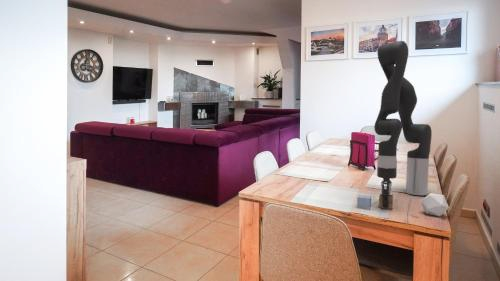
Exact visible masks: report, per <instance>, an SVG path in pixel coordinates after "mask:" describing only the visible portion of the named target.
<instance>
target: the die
mask: <svg viewBox="0 0 500 281" xmlns="http://www.w3.org/2000/svg"><path fill="white" fill-rule="evenodd" d="M420 203H421V206H422V207H423V210H424V212H425V214H427V215H430V216H435V217H441V216H442V215H443V214H444V213H446V212H447V211H448V210H450V207H449V204H448V202H447V200H446V196H445V195H444V194H439V193H431V192H430V193H428V194H427V195H425V197H424V198H422V199H421V200H420Z"/></svg>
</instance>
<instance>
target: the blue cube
mask: <svg viewBox="0 0 500 281" xmlns="http://www.w3.org/2000/svg"><path fill="white" fill-rule="evenodd" d="M356 198H357V200H356V203H357V204H356V208H357V209H360V210H367V211H370V210H371V207H372V196H371V195H364V194H362V195H361V194H358V196H357V197H356Z"/></svg>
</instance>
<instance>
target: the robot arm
mask: <svg viewBox="0 0 500 281" xmlns="http://www.w3.org/2000/svg"><path fill="white" fill-rule="evenodd" d="M377 59H378V62H379V64H380V67H381V69H382V71H383V73H384V76H385V77H386V81H387V83H386V84H385V86H384V88H383V90H382V92H381V97H380V109H379V113H378V114H377V118H376V120H375V122H374V128H373V129H374V131H375V132H374V133H375V134H376V135H378V136H388V137H389V136H390V138H389V139H388V140H382V141H380V142H379V143H378V148H377V149H378V152H377V153H378V154H377V155H378V156H377V166H376V167H377V168H376V177H377V178H381V179H382V180H381V182H380V186H381V188H380V189H381V190H380V192H381V194H382V198H383V208H382V209H386V208H388V200H389V194H390V195H391V192H392V184H393V182H392V180H391V179H397V176H398V175H397V173H398V172H397V168H398V165H397V164H398V158H397V148H398V142H399V139H400V135H401V133H402V132H403V133H402V134H403V136H404V140H405V141H406V142H407V143H409V144H418V147H416V148H415V149H412V150H408V151H407V152H406V153H407V154H406V156H407V157H406V178H405V180H406V182H405V193H406V194H409V195H413V196H427V195H428V194H429V193H428V191H429V188H428V187H429V168H430V167H429V166H430V153H431V144H432V128H431V125H429V124H427V123H424V124H423V123H413V118H412V116H413V113H414V110H415V108H416V106H417V104H418V97H417V93H416V91H415V87H414V85H413V84H412V82H410V81H409V80H408V79H407V78H405V77H404V76H405V72H406V68H407V65H408V64H407V63H408V60H409V46H408V44H407V43H406V41H404V40H397V41H393V42H389V43H384V44H381V45H379V47H378V48H377ZM397 113H398V115H399V119H398V118H388V116H389V115H392V114H397ZM384 194H387V195H384Z"/></svg>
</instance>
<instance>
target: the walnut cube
mask: <svg viewBox="0 0 500 281" xmlns="http://www.w3.org/2000/svg"><path fill="white" fill-rule="evenodd" d="M384 195H387V194H384ZM378 197H379V199H378V208H380V209H384V208H383V198H382V193H379V196H378ZM393 201H394V195H393V194H391V193H390V194H389V200H388V208H385V209H388V210H392V209H393V207H394V206H393V205H394V204H393V203H394V202H393Z"/></svg>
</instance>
